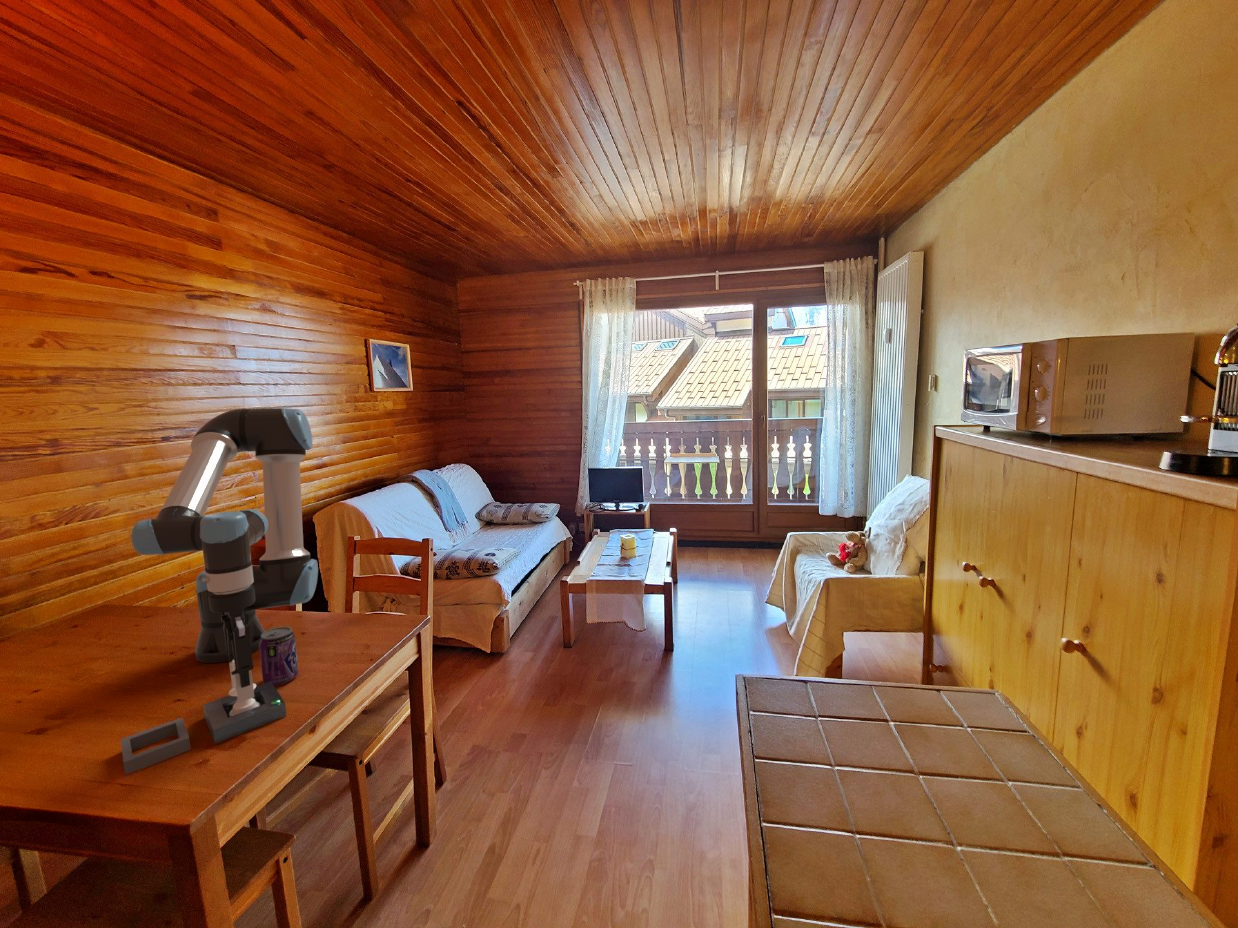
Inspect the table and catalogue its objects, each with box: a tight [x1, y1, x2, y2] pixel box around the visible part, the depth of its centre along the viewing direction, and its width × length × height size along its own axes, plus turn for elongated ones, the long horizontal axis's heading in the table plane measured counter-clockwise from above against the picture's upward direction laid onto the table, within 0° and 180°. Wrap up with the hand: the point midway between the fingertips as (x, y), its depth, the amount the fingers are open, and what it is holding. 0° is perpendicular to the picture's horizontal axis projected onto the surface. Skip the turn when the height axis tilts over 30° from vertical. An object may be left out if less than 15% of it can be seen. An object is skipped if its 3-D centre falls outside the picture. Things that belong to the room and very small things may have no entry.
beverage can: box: [259, 626, 300, 686], centre depth 120 cm, size 7×7×12 cm
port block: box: [202, 681, 287, 745], centre depth 106 cm, size 12×12×3 cm
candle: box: [228, 660, 261, 717], centre depth 106 cm, size 5×5×12 cm
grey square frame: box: [120, 717, 191, 776], centre depth 96 cm, size 9×9×2 cm
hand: (243, 693), depth 106 cm, fingers closed on candle, 5 cm apart
